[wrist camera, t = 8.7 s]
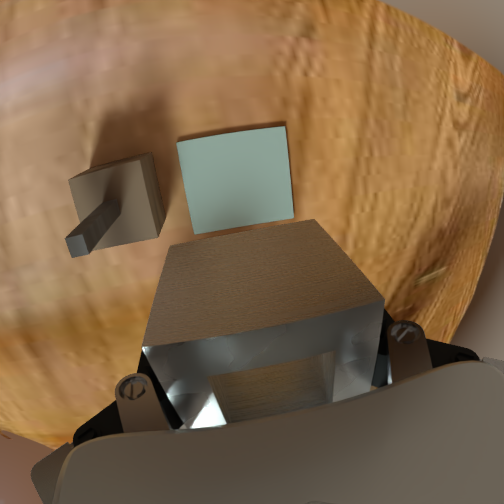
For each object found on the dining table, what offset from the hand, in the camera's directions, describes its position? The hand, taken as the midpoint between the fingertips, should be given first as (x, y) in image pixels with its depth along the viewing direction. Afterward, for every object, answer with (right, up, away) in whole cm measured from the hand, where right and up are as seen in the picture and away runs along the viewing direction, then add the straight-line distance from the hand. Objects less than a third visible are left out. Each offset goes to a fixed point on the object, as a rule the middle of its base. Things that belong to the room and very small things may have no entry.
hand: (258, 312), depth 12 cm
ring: (0, +1, +1) cm, 1 cm away
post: (-15, +9, +20) cm, 27 cm away
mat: (-2, +11, +22) cm, 24 cm away
